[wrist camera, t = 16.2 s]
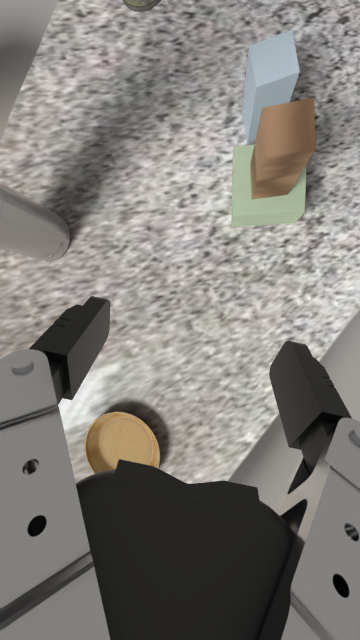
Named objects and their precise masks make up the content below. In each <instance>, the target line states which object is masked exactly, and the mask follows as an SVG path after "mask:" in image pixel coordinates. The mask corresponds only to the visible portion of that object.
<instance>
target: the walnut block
mask: <svg viewBox="0 0 360 640" xmlns="http://www.w3.org/2000/svg"><path fill="white" fill-rule="evenodd" d="M315 149H316V147H315V113H314V98H310V99H304V100H299V101H294V102H289V103H284V104H279V105H274V106H268V107H263V108H262V111H261V116H260V120H259V125H258V130H257V135H256V139H255V144H254V149H253V153H252V158H251V163H250V173H251V197H252V199H259V198H267V197H275V196H282V195H288V193H289V192H290V190H291V189H292V187H293V185H294V184H295V182H296V180H297V179H298V177H299V175H300V174H301V172H302V170H303V169H304V167H305V165H306V164H307V162H308V161H309V159H310V157H311V156H312V154H313V152H314V151H315Z"/></svg>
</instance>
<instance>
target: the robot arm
mask: <svg viewBox="0 0 360 640" xmlns="http://www.w3.org/2000/svg"><path fill="white" fill-rule="evenodd" d="M69 243H70V230H69V227H68V225H67V223H66V221H65V220H64V219H63V218H62V217H61V216H59V215H58V214H56V213H54V212H52V211H51V210H49V209H47V208H45V207H44V206H42V205H40V204H38V203H36V202H35V201H33V200H31V199H29V198H27V197H26V196H24V195H22V194H20V193H19V192H17V191H15V190H13V189H11V188H10V187H8V186H6V185H4V184H2V183H1V182H0V249H2V250H6V251H10V252H14V253H17V254H21V255H25V256H29V257H33V258H36V259H40V260H45V261H53V260H56V259H58V258H60V257H61V256H62V255H64V253H65V252H66V251H67V248H68V246H69ZM109 326H110V301H109V300H107V299H102V298H98V297H94V296H91V297H90V298H89V299H88V300H87V301H86V303H85V304H84V305H83V306H81V305H75V306H73V307H71V308H69V309H67V310H65V312H64V313H63V314H62V315H61V316H60V317H59V319H57V320H56V321H55V322H54V323H53V325H51V326H50V327H49V328H48V329H47V330H46V332H45V333H44V334H43V335H42V336H41V337H40V338H39V339H38V340H37V341H36V342H35V343H34V344H33V345H32V346H31V347H30V348H29V349H25V350H19V351H15V352H13V353H10V354H8V355H6V356H5V357H3V358H2V359H1V360H0V640H360V422H359V421H357V420H354V419H352V418H351V416H350V414H349V412H348V410H347V408H346V407H345V405H344V403H343V401H342V399H341V398H340V396H339V394H338V392H337V390H336V389H335V388H334V385H333V383H332V381H331V380H330V377H329V375H328V374H327V372H326V370H325V368H324V367H323V366H322V365H321V364H320V363H319V362H318V361H317V360H316V359H315V358H313V356H312V355H311V353H310V351H309V349H308V347H307V346H306V345H305V344H301V343H296V342H292V341H286V342H285V343H284V345H283V346H282V348H281V350H280V351H279V353H278V355H277V356H276V358H275V359H274V361H273V363H272V365H271V367H270V380H271V384H272V387H273V391H274V395H275V398H276V402H277V406H278V409H279V413H280V417H281V420H282V424H283V428H284V431H285V435H286V439H287V442H288V446H289V447H291V448H296V449H300V450H302V453H303V456H301V457H300V458H299V460H298V462H297V464H296V466H295V469H294V471H293V473H292V475H291V477H290V479H289V481H288V484H287V485H286V488H285V490H284V492H283V494H282V496H281V498H280V500H279V501H278V502H277V504H276V505H275V506H274V508H273V509H271V508H270V507H269V506H267V505H266V504H264V503H263V502H261V501H260V500H259V496H258V489H257V488H256V487H252V486H247V485H242V484H237V483H232V482H228V481H216V482H207V483H197V484H187V483H184V482H182V481H180V480H179V479H177V478H175V477H173V476H171V475H169V474H167V473H165V472H163V471H162V470H160V469H158V468H156V467H154V466H150V465H145V464H141V463H136V462H131V461H126V460H121V459H119V460H118V464H117V467H116V469H113V470H106V471H102V472H99V473H96V474H93V475H90V476H88V477H86V478H85V479H83V480H81V481H79V482H78V483H76V484H75V479H74V474H73V470H72V465H71V461H70V456H69V452H68V447H67V443H66V438H65V433H64V429H63V424H62V420H61V415H60V411H59V407H58V404H59V403H60V401H61V399H62V398H65V399H69V400H72V399H73V398H74V396H75V394H76V392H77V391H78V389H79V387H80V385H81V384H82V382H83V380H84V378H85V377H86V375H87V373H88V371H89V370H90V368H91V366H92V364H93V363H94V361H95V359H96V357H97V356H98V354H99V352H100V350H101V349H102V347H103V345H104V343H105V342H106V339H107V337H108V333H109Z"/></svg>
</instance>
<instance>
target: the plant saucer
mask: <svg viewBox="0 0 360 640" xmlns="http://www.w3.org/2000/svg"><path fill="white" fill-rule="evenodd" d="M85 455H86V459H87V462H88V464H89V466H90V468H91V469H92V471H93V473H94V474H96V473H99V472H102V471H106V470H113V469H116V467H117V464H118V460H119V459H121V460H126V461H131V462H136V463H141V464H145V465H150V466H154V467H156V468H158V467H159V462H160V450H159V445H158V442H157V439H156V437H155V435H154V433H153V432H152V430H151V429H150V428H149V427H148V425H147V424H146V423H145V422H143V421H142V420H141V419H139V418H138V417H136V416H134V415H132V414H129V413H125V412H111V413H107V414H104V415H102V416H100V417H99V418H97V419H96V420H95V421H94V422H93V423H92V424H91V426H90V427H89V429H88V431H87V434H86V438H85Z"/></svg>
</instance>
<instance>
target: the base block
mask: <svg viewBox="0 0 360 640" xmlns="http://www.w3.org/2000/svg"><path fill="white" fill-rule="evenodd" d="M253 149H254V145H245V146H236V147H234V154H233V171H232V227H233V226H253V225H272V224H291V223H295V222H296V221H297V220H298V219H299V218H300V217H301V216H302V215H303V213H304V212H305V191H306V165H305V167H304V169H303V170H302V172H301V174H300V175H299V177H298V179H297V180H296V182H295V184H294V185H293V187H292V189H291V190H290V192H289V193H288V195H282V196H275V197H267V198H259V199H252V197H251V173H250V163H251V158H252V153H253Z"/></svg>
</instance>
